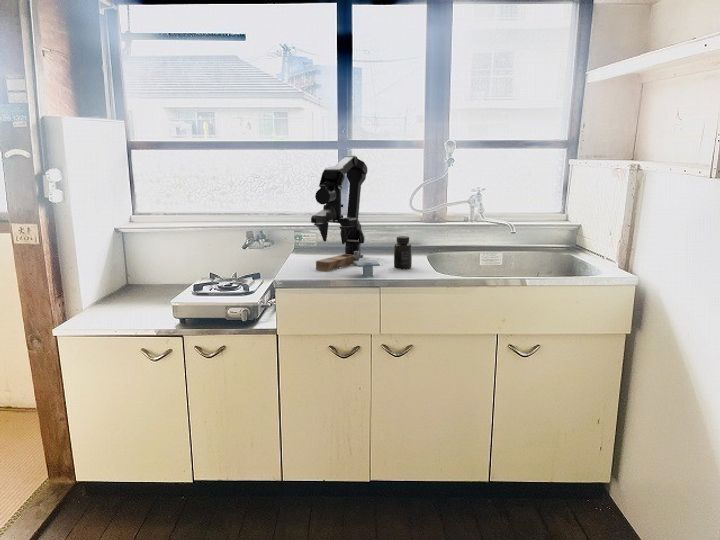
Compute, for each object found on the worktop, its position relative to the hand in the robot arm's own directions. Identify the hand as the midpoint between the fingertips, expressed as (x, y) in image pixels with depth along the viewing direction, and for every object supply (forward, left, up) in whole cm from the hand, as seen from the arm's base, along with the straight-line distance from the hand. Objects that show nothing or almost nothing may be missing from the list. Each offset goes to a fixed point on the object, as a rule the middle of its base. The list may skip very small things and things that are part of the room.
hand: (334, 242), depth 203 cm
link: (-1, 0, -9) cm, 10 cm away
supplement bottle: (-15, +22, -10) cm, 28 cm away
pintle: (-8, +5, -10) cm, 13 cm away
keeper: (+3, +18, -10) cm, 20 cm away
